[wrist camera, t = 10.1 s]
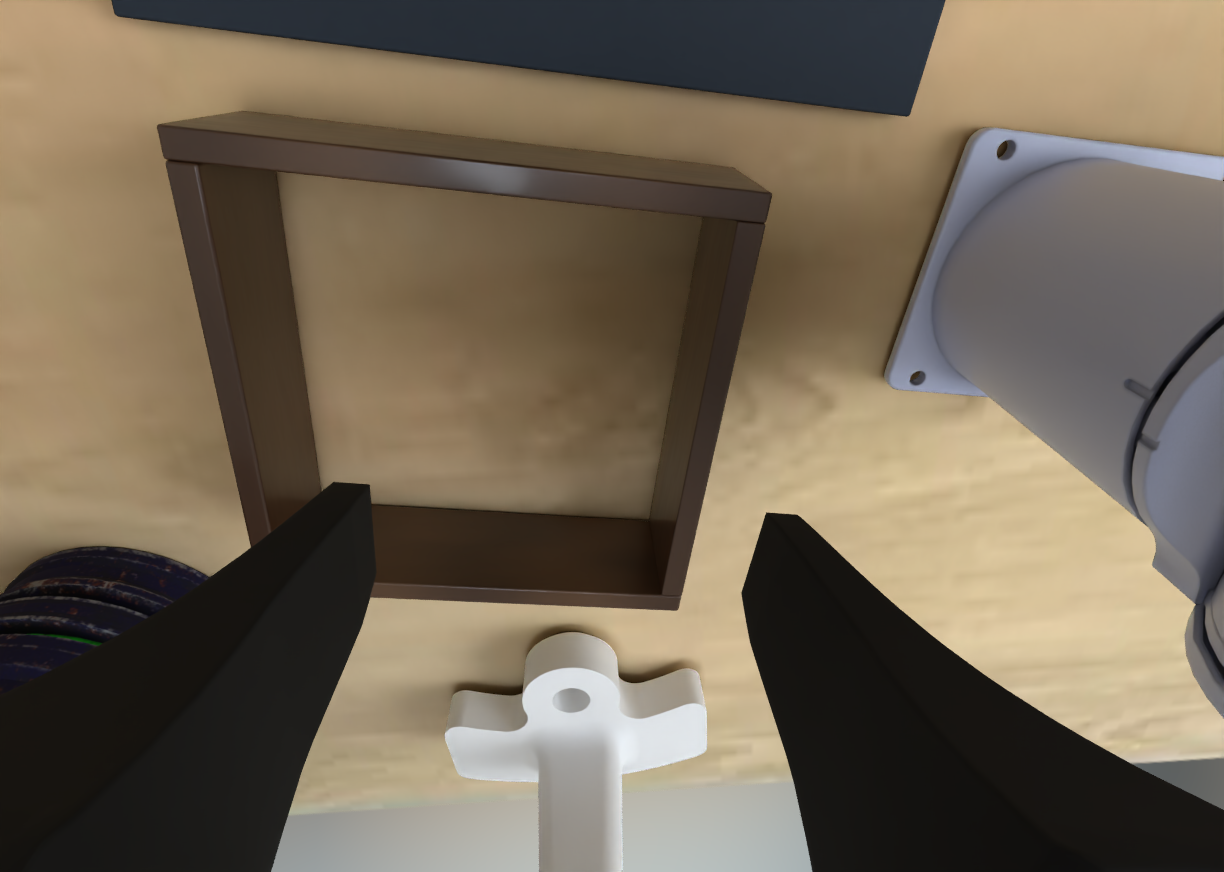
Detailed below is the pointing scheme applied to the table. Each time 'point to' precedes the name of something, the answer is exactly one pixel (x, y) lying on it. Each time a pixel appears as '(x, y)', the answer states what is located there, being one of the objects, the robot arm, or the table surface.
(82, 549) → the dark navy cylinder
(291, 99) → the table surface
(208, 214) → the wooden frame
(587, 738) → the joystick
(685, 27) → the mat
